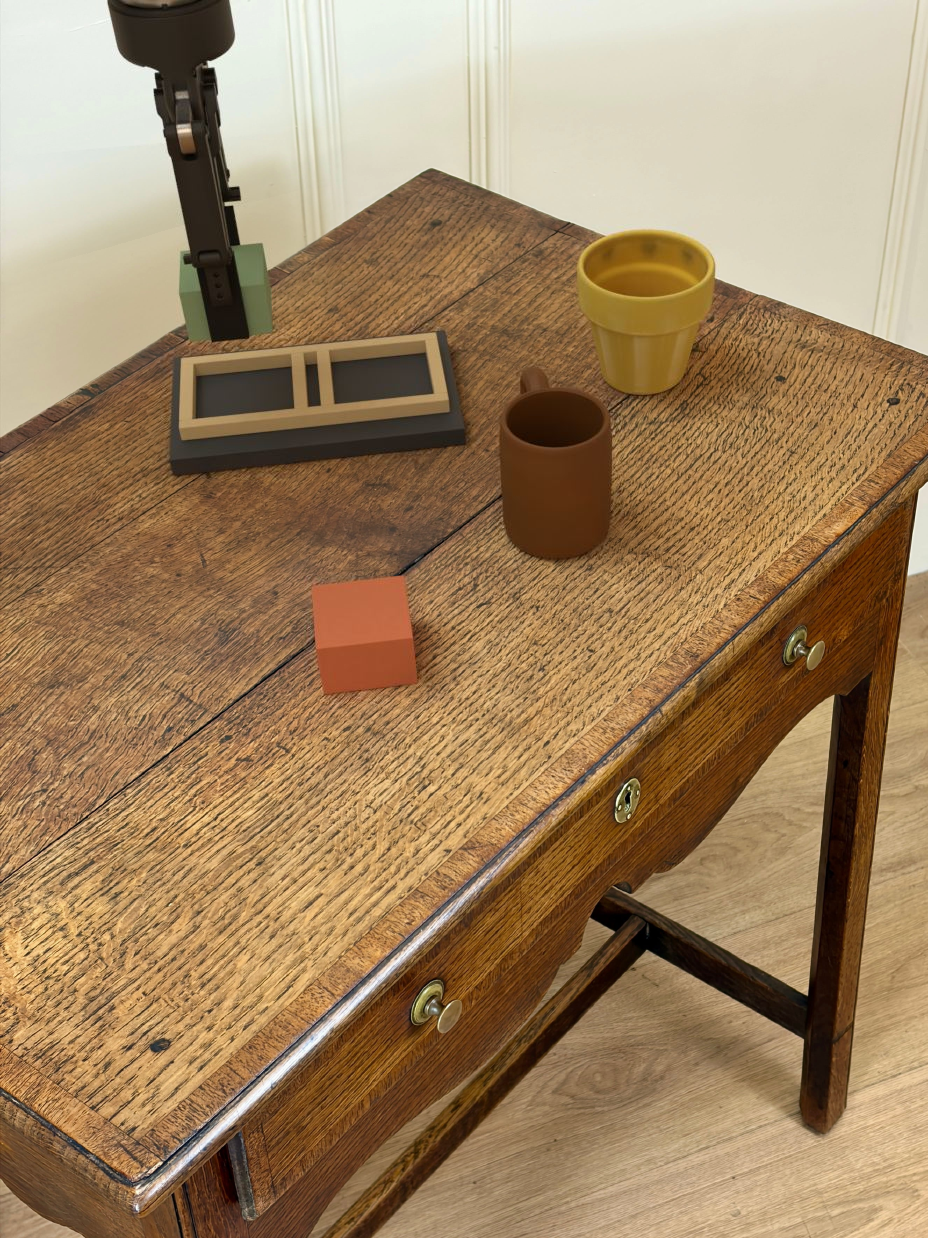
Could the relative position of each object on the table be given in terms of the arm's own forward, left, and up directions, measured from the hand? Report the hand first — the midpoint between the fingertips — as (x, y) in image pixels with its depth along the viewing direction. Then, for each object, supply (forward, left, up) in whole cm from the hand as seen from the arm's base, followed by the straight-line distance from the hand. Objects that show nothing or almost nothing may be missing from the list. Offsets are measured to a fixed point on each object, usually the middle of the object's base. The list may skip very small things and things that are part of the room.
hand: (230, 313), depth 109 cm
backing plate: (+5, 0, -9) cm, 10 cm away
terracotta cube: (+7, -29, -9) cm, 31 cm away
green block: (0, 0, 0) cm, 0 cm away
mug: (+21, -16, -9) cm, 28 cm away
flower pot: (+31, 0, -9) cm, 33 cm away
